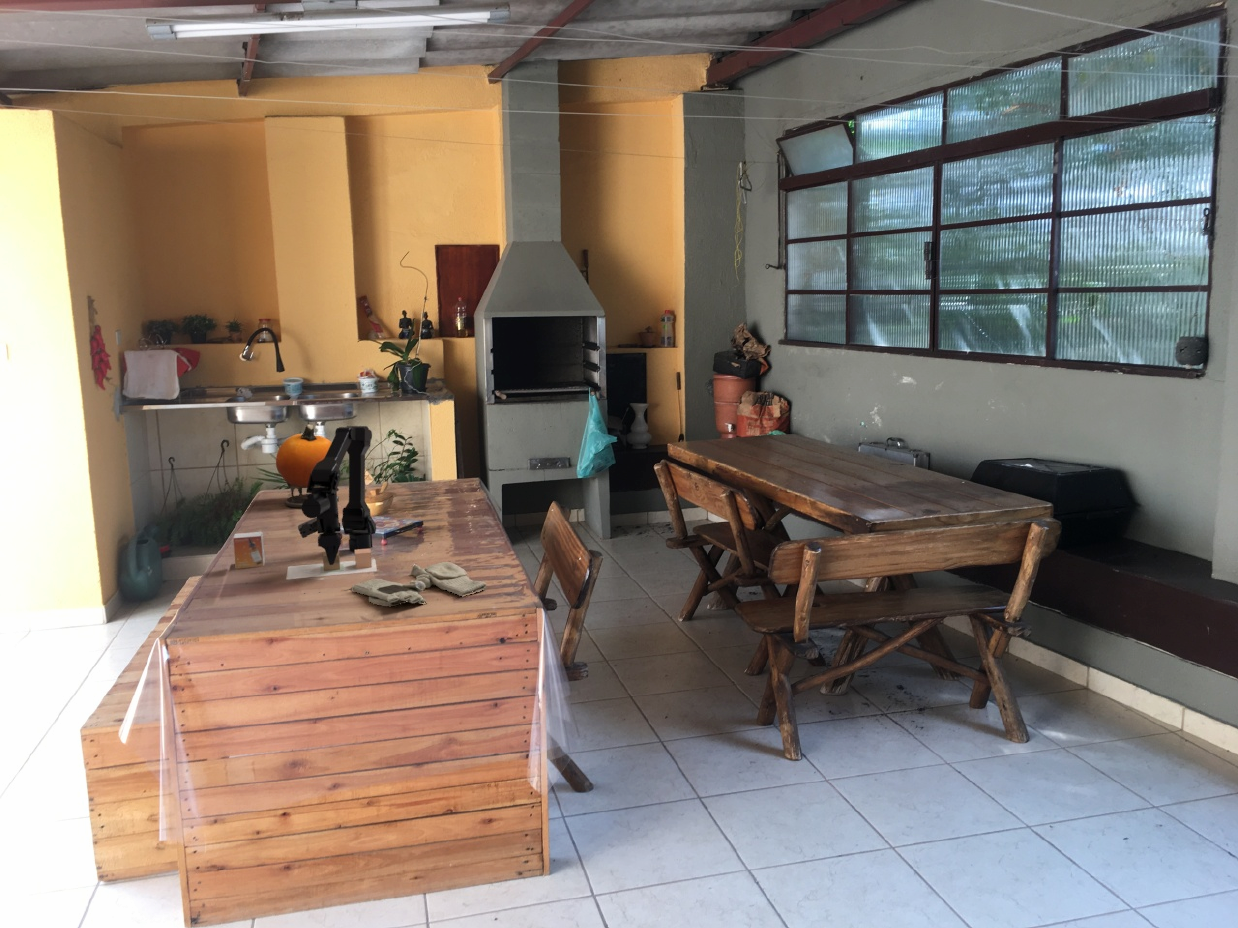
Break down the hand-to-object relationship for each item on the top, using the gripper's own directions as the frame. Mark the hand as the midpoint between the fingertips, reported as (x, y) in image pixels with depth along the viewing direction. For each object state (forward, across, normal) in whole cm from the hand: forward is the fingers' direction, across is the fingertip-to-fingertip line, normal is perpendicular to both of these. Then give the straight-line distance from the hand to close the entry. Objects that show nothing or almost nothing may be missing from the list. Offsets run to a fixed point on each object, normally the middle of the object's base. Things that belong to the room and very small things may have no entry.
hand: (331, 561), depth 299 cm
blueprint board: (+3, 0, 0) cm, 3 cm away
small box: (+4, -12, -23) cm, 27 cm away
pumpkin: (+4, -96, -8) cm, 97 cm away
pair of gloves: (+4, +25, +23) cm, 34 cm away
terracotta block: (+2, 0, +9) cm, 9 cm away
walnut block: (+2, 0, 0) cm, 2 cm away
